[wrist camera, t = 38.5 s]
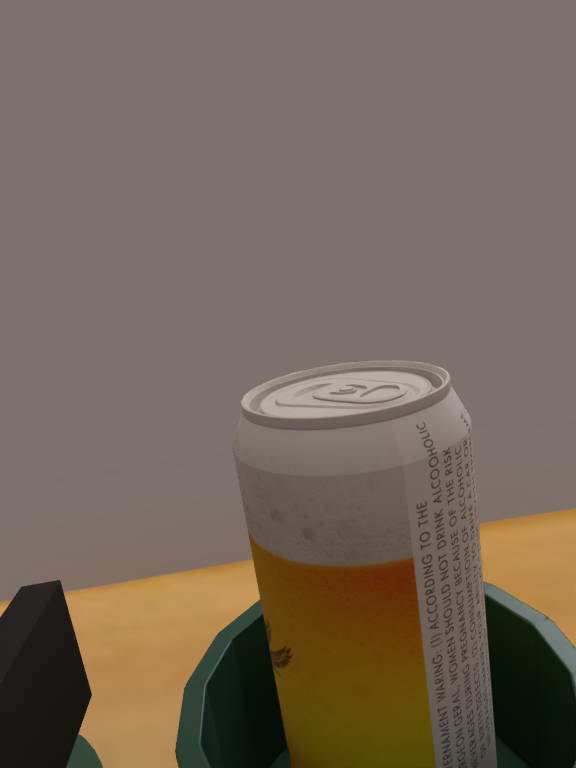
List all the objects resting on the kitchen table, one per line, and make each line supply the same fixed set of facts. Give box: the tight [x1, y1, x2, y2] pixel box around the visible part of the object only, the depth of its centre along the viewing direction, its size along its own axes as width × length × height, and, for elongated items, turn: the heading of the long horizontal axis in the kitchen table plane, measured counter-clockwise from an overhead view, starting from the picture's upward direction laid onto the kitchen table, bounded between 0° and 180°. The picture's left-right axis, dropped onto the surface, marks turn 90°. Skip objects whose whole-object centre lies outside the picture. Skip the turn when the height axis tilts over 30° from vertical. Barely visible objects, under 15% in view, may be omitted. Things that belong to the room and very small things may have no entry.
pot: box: [175, 582, 576, 768], centre depth 17 cm, size 12×17×6 cm
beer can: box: [233, 360, 497, 768], centre depth 16 cm, size 6×6×15 cm
